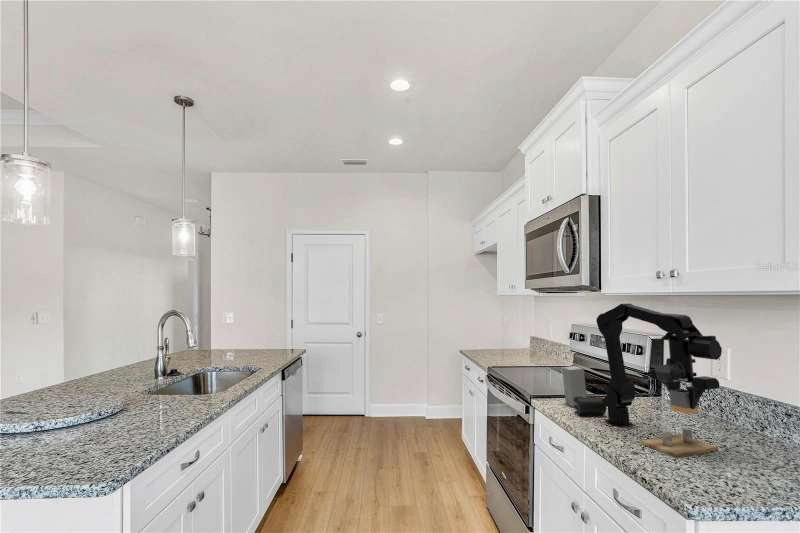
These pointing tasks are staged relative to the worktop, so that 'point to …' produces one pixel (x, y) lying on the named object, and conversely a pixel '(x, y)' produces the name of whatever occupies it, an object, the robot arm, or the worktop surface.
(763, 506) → the worktop surface
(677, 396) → the sleeve
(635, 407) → the worktop surface
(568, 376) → the skincare box
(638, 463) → the worktop surface
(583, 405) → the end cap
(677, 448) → the pin board
